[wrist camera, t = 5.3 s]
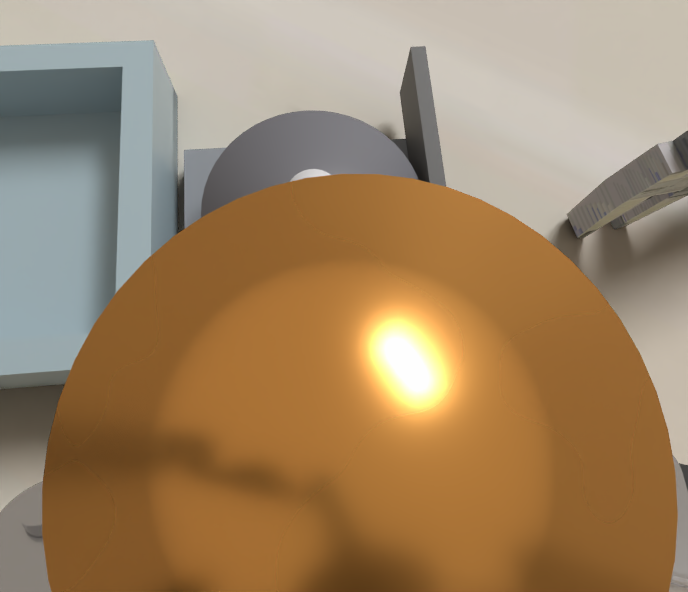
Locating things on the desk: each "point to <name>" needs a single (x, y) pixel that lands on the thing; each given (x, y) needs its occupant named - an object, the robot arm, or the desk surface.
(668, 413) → the desk surface
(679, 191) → the caliper
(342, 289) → the pin
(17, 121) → the tray
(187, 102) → the desk surface
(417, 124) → the plate
